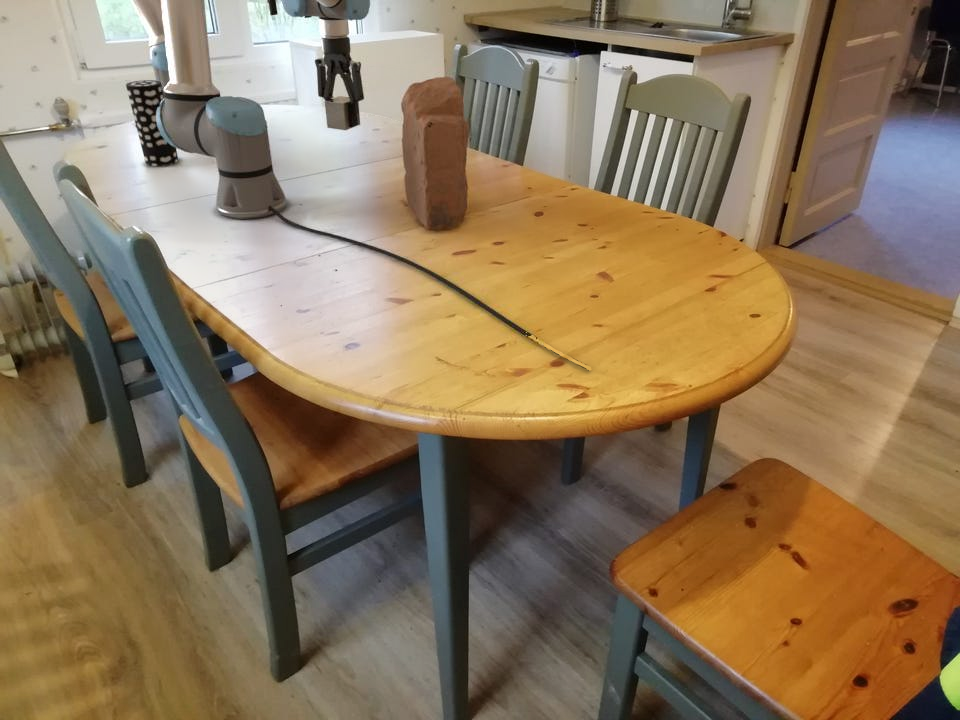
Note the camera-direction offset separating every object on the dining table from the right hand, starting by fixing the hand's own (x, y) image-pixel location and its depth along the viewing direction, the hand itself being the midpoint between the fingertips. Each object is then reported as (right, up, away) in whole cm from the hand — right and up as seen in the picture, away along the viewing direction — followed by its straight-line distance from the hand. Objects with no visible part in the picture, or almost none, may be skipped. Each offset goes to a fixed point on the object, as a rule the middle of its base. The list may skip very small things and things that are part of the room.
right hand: (343, 124), depth 196 cm
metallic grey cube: (0, 0, 0) cm, 0 cm away
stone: (+29, -34, -40) cm, 60 cm away
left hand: (-22, +44, +26) cm, 55 cm away
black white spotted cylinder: (-47, -5, -15) cm, 50 cm away
